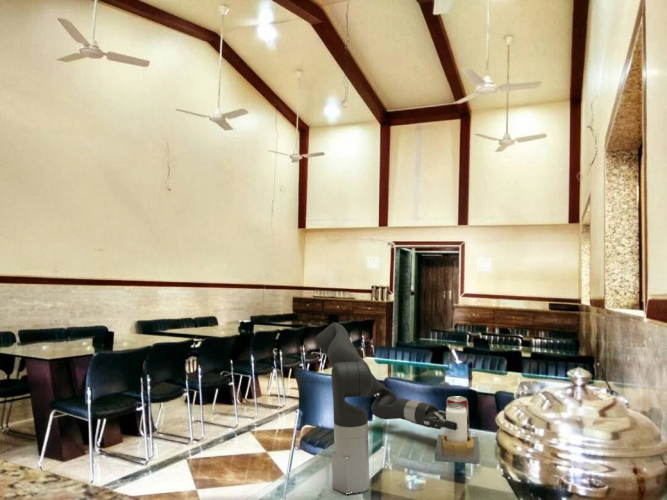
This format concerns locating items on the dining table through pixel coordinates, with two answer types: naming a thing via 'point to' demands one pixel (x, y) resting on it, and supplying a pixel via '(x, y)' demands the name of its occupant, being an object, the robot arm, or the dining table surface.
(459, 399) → the soda can
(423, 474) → the dining table surface
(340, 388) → the robot arm
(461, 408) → the can
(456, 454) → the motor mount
